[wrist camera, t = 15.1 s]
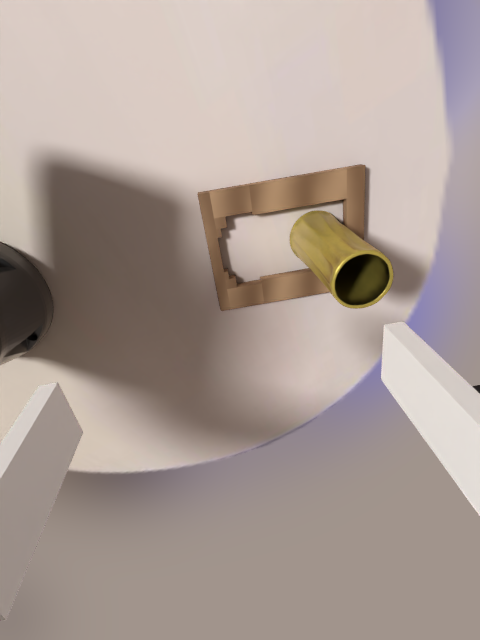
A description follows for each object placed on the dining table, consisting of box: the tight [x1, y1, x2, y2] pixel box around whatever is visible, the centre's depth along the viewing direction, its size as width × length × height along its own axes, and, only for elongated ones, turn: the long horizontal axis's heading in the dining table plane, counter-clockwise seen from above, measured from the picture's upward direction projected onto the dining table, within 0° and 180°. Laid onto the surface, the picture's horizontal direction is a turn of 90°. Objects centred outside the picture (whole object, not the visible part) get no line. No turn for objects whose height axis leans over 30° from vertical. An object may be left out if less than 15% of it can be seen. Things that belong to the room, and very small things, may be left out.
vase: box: [290, 211, 393, 308], centre depth 35 cm, size 6×6×14 cm
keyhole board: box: [198, 164, 365, 311], centre depth 41 cm, size 18×14×1 cm
